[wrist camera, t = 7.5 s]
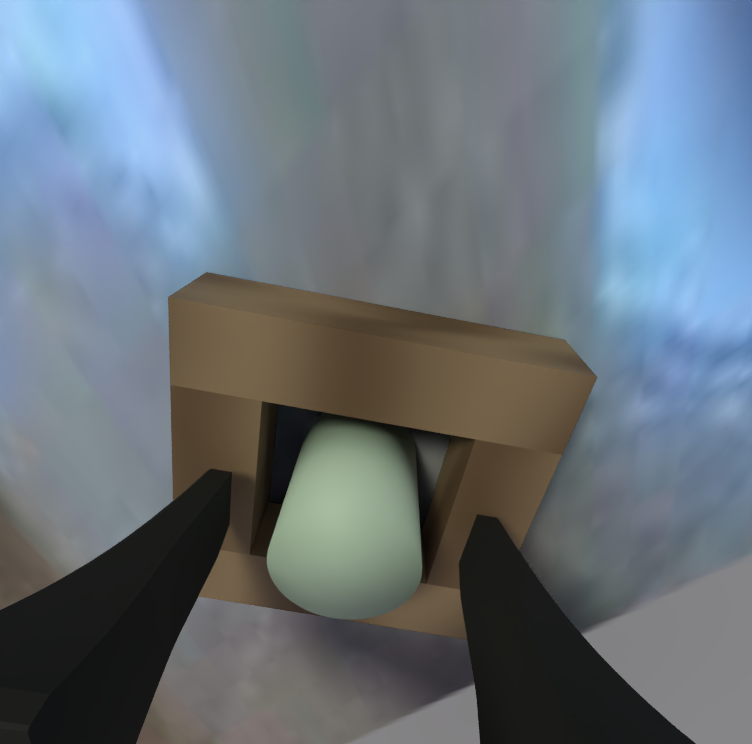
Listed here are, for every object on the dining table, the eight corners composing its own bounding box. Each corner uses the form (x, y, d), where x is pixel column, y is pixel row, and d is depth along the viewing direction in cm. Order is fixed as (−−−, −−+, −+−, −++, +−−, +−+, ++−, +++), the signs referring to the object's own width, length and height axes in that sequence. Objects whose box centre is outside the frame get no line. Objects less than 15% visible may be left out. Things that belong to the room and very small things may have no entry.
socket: (565, 340, 14) (597, 377, 12) (468, 582, 19) (477, 641, 16) (206, 272, 13) (167, 297, 11) (202, 538, 18) (175, 592, 16)
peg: (427, 414, 15) (438, 524, 11) (402, 503, 17) (404, 629, 13) (309, 393, 15) (272, 496, 11) (297, 485, 17) (261, 606, 12)
